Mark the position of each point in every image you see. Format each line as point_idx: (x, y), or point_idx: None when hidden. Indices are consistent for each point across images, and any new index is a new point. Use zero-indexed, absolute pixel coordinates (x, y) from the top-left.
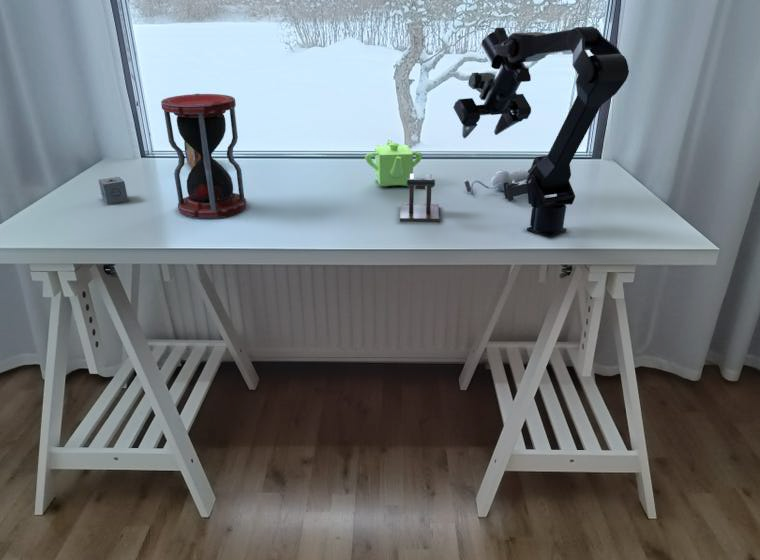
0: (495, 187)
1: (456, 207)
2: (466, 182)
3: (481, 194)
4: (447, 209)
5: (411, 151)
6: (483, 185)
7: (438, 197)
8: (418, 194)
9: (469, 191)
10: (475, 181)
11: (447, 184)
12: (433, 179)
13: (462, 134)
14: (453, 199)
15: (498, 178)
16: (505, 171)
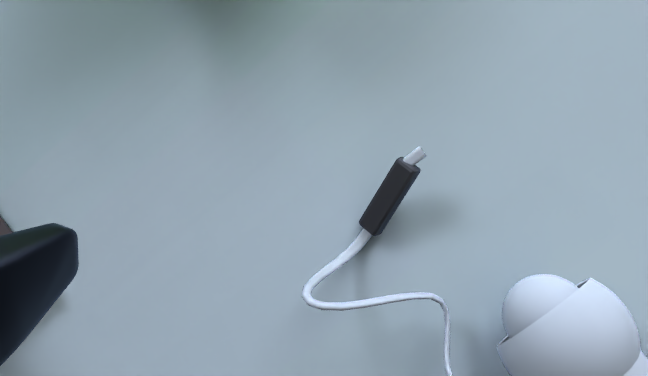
0: (445, 366)
1: (127, 335)
2: (397, 174)
3: (395, 291)
4: (74, 322)
5: None
6: (410, 297)
7: (194, 162)
8: (165, 60)
9: (364, 229)
10: (313, 306)
11: (407, 41)
12: None
13: (36, 233)
14: (219, 239)
15: (511, 354)
16: (600, 369)
